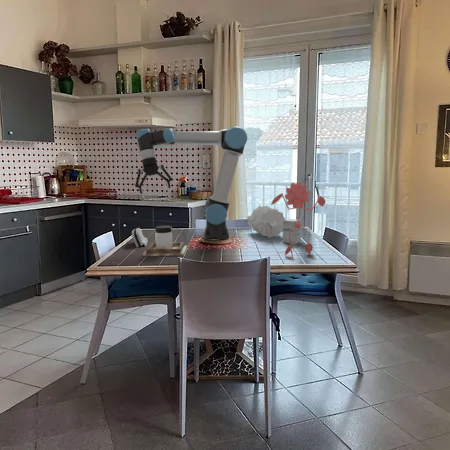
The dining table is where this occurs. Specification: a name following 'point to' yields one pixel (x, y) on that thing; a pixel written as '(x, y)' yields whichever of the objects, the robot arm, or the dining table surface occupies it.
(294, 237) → the supplement box
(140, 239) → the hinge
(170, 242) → the jar
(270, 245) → the dining table surface
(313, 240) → the dining table surface
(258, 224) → the grey rounded scaly piece
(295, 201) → the figurine
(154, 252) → the jar stand
